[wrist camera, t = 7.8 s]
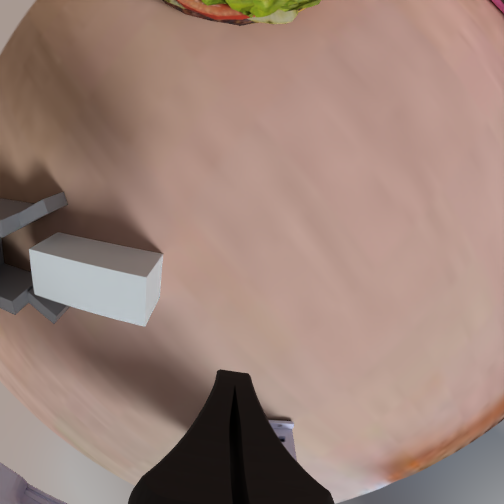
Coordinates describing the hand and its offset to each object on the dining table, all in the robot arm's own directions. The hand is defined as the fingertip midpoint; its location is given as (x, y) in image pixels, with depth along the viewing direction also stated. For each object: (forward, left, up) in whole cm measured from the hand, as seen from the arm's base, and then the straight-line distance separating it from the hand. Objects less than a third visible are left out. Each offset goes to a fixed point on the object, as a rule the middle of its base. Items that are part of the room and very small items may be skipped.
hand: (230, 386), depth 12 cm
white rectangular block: (+10, 0, -9) cm, 14 cm away
